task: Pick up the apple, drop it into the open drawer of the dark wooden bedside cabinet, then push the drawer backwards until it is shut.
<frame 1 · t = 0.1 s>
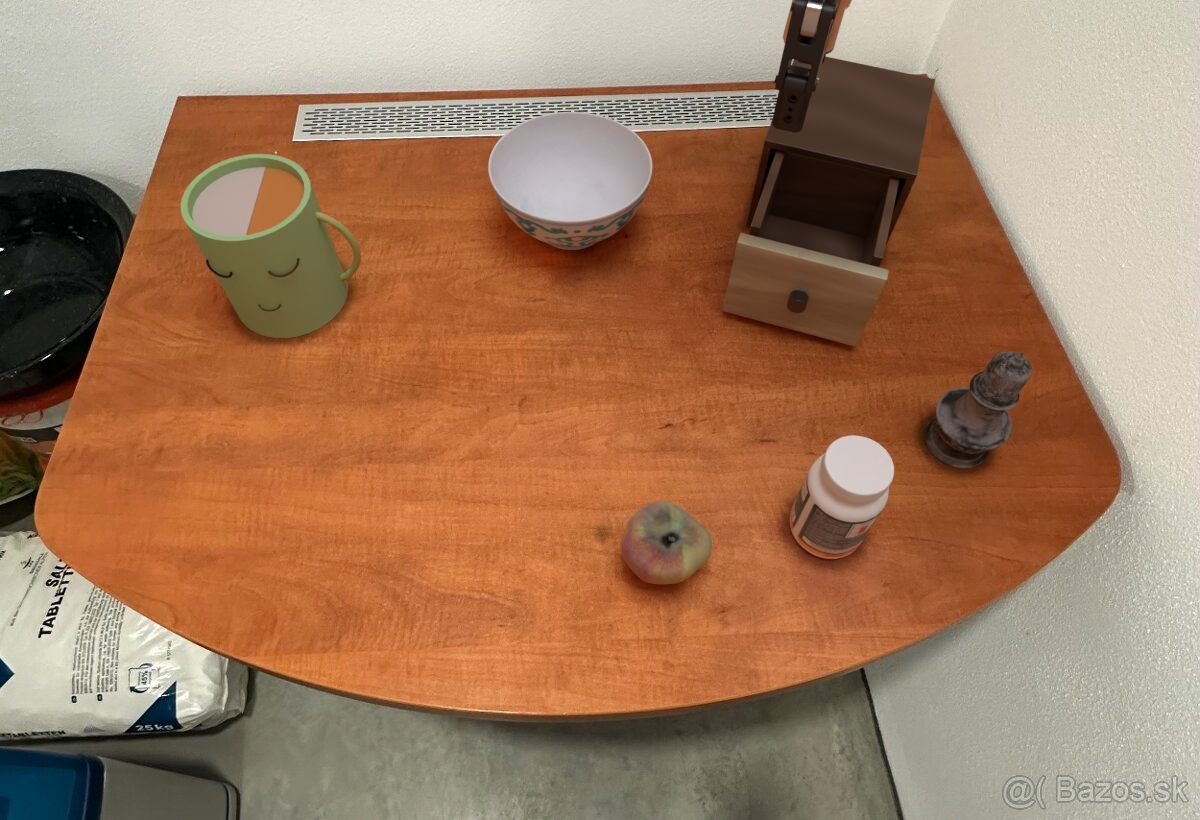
hand: (798, 93, 60), 20 cm above the table, tool pointing down, fingers open, 8 cm apart
drawer: (812, 247, 71), point 5 cm above the table, slide at 11.0 cm
chess piece: (955, 441, 67), on the table
mug: (306, 298, 74), on the table
cabinet: (825, 195, 82), on the table
chinaware: (572, 227, 80), on the table
pill bottle: (823, 528, 62), on the table
apple: (653, 559, 61), on the table
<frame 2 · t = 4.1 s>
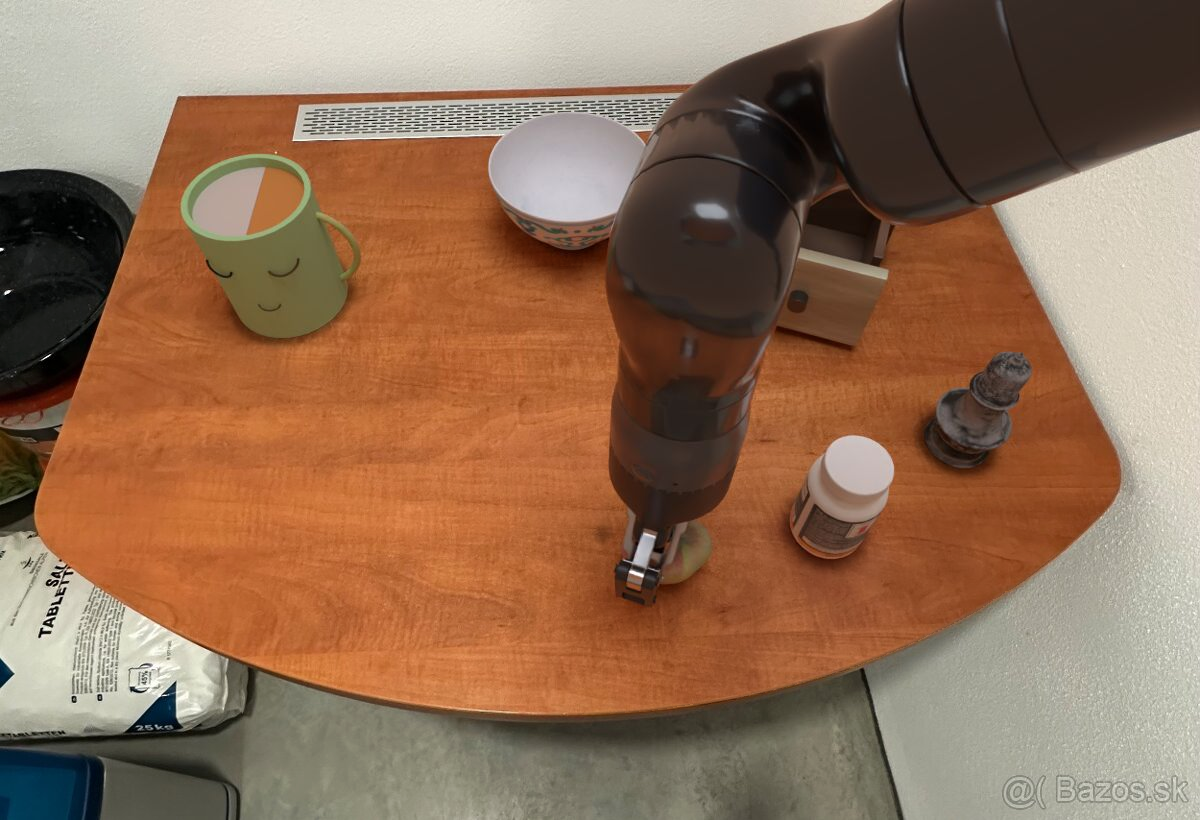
hand: (655, 548, 59), 2 cm above the table, tool pointing down, fingers closed on apple, 6 cm apart
apple: (653, 559, 61), on the table, touching gripper
everything else where it was.
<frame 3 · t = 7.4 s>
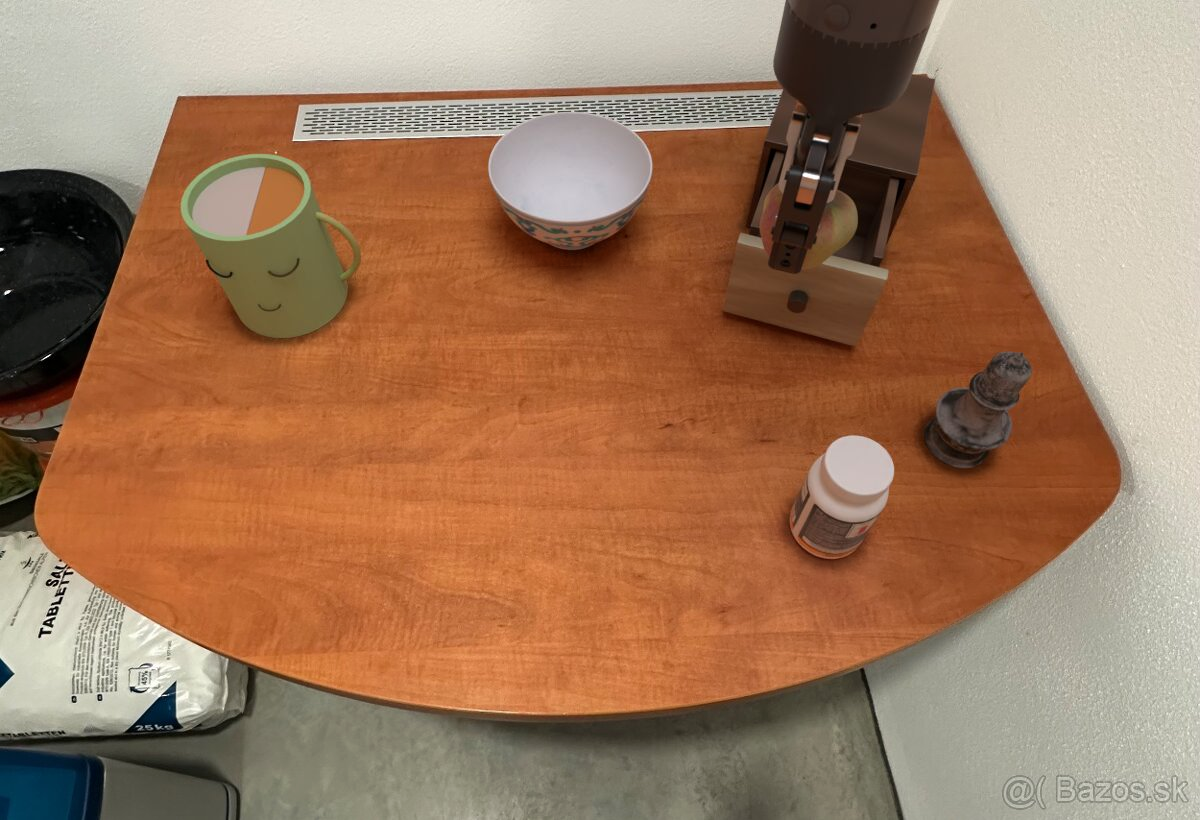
hand: (793, 233, 55), 17 cm above the table, tool pointing down, fingers closed on apple, 6 cm apart
apple: (787, 253, 56), point 16 cm above the table, touching gripper
everything else where it was.
when the fingers open (8 cm above the table, at t = 11.0 s): apple drops 5 cm, resting on drawer.
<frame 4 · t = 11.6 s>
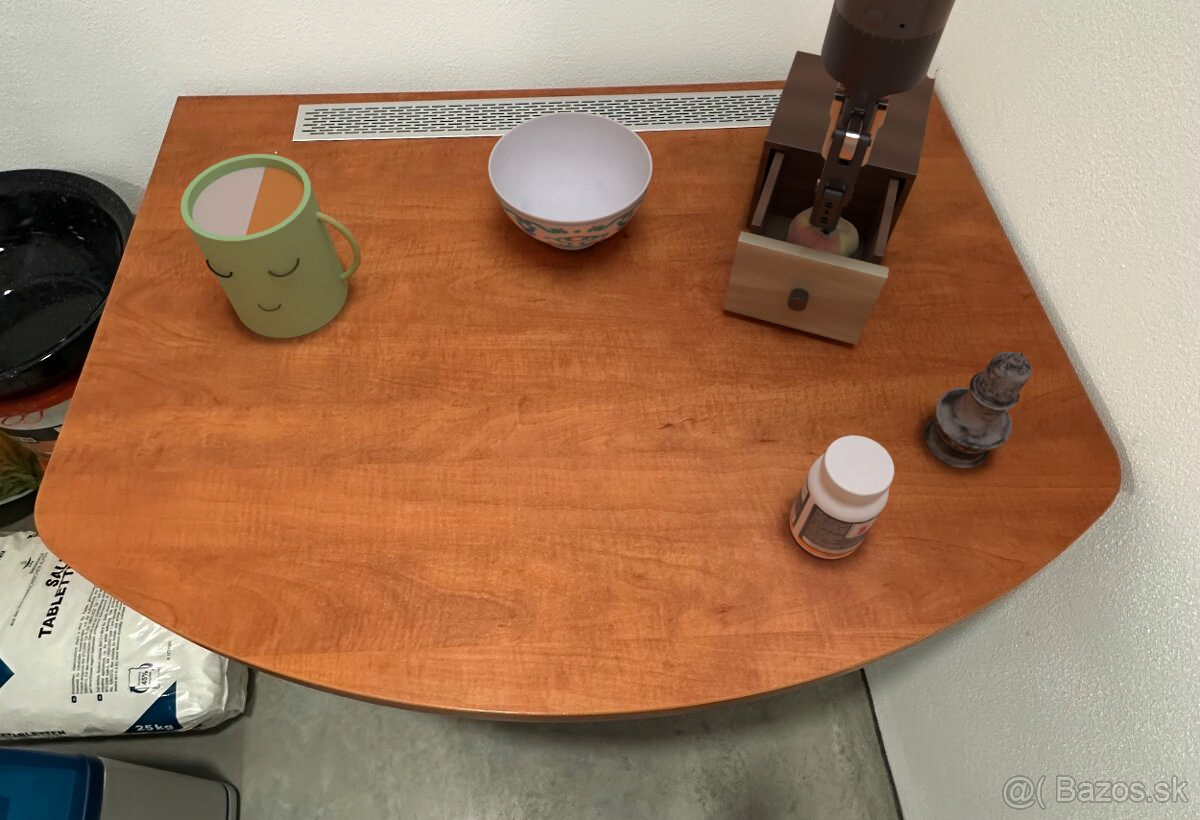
hand: (831, 191, 67), 11 cm above the table, tool pointing down, fingers open, 8 cm apart
drawer: (813, 245, 71), point 5 cm above the table, slide at 10.8 cm, touching apple
apple: (805, 265, 75), point 2 cm above the table, touching drawer
everything else where it was.
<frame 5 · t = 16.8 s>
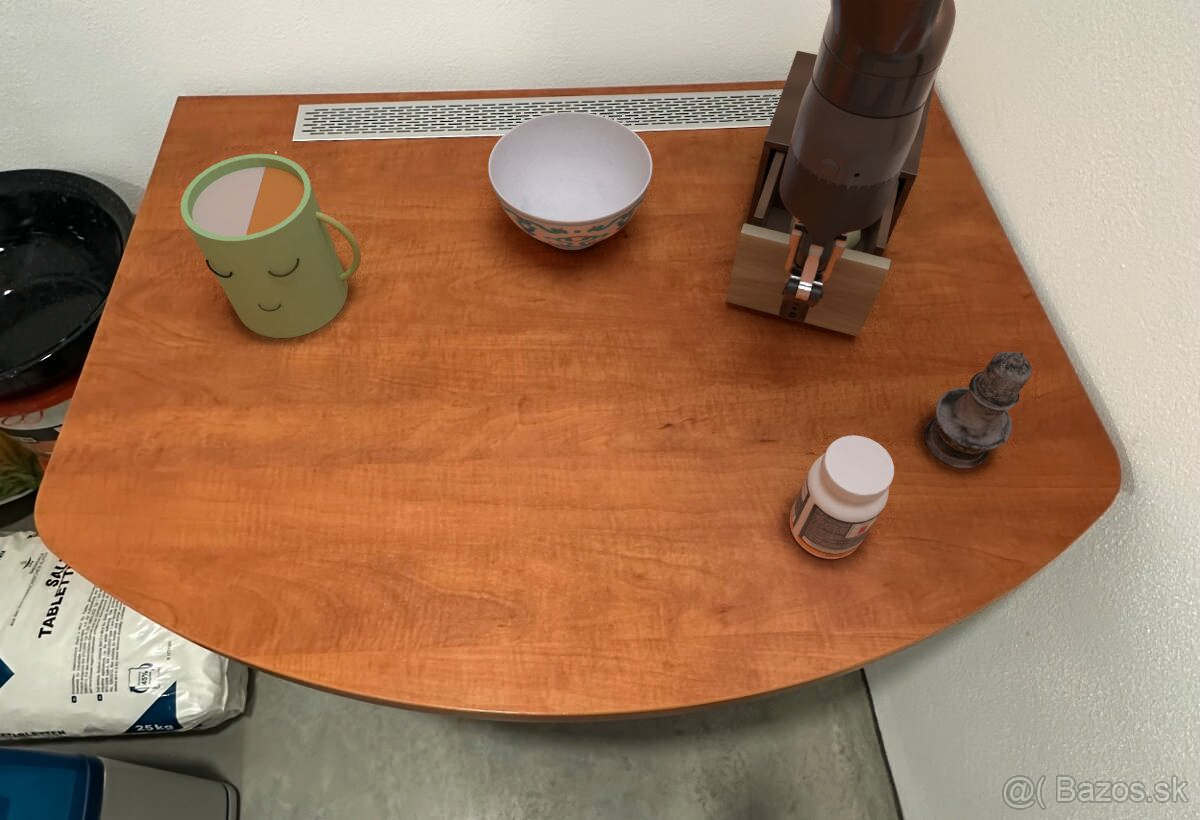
hand: (792, 313, 67), 5 cm above the table, tool pointing down, fingers closed
drawer: (815, 238, 72), point 5 cm above the table, slide at 9.8 cm, touching apple, gripper, hand
everything else where it was.
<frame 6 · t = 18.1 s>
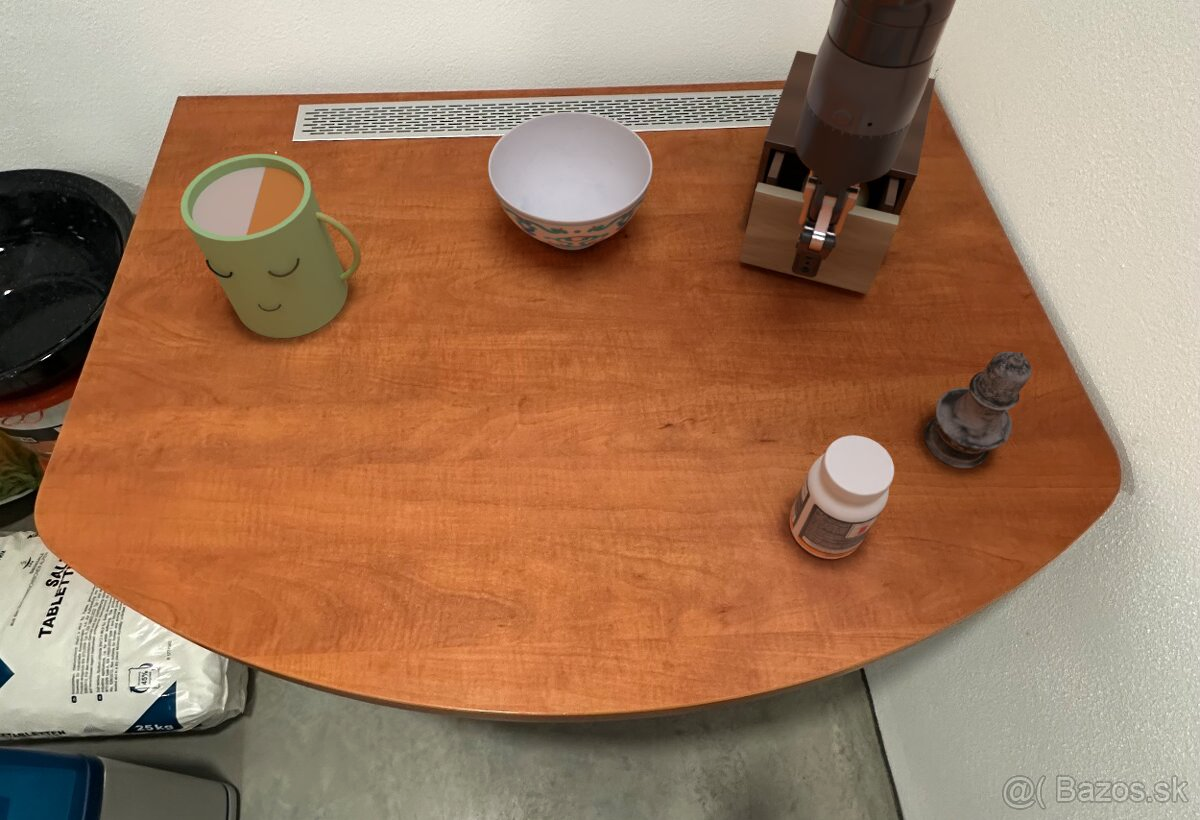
hand: (804, 269, 70), 5 cm above the table, tool pointing down, fingers closed
drawer: (825, 199, 74), point 5 cm above the table, slide at 4.5 cm, touching apple, gripper, hand
apple: (817, 220, 78), point 2 cm above the table, touching drawer
everything else where it was.
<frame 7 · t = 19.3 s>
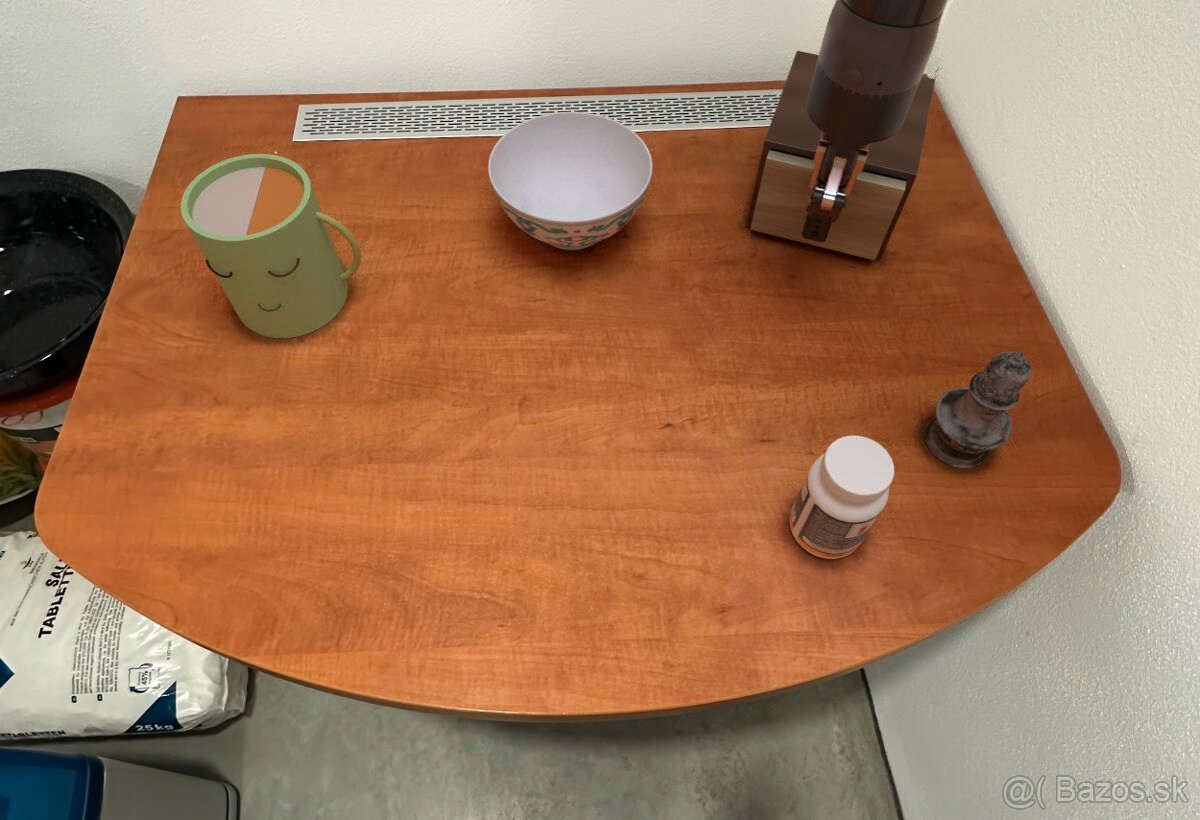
hand: (814, 234, 72), 5 cm above the table, tool pointing down, fingers closed
drawer: (834, 169, 77), point 5 cm above the table, slide at 0.0 cm, touching apple, cabinet, gripper, hand
apple: (826, 190, 80), point 2 cm above the table, touching drawer
everything else where it was.
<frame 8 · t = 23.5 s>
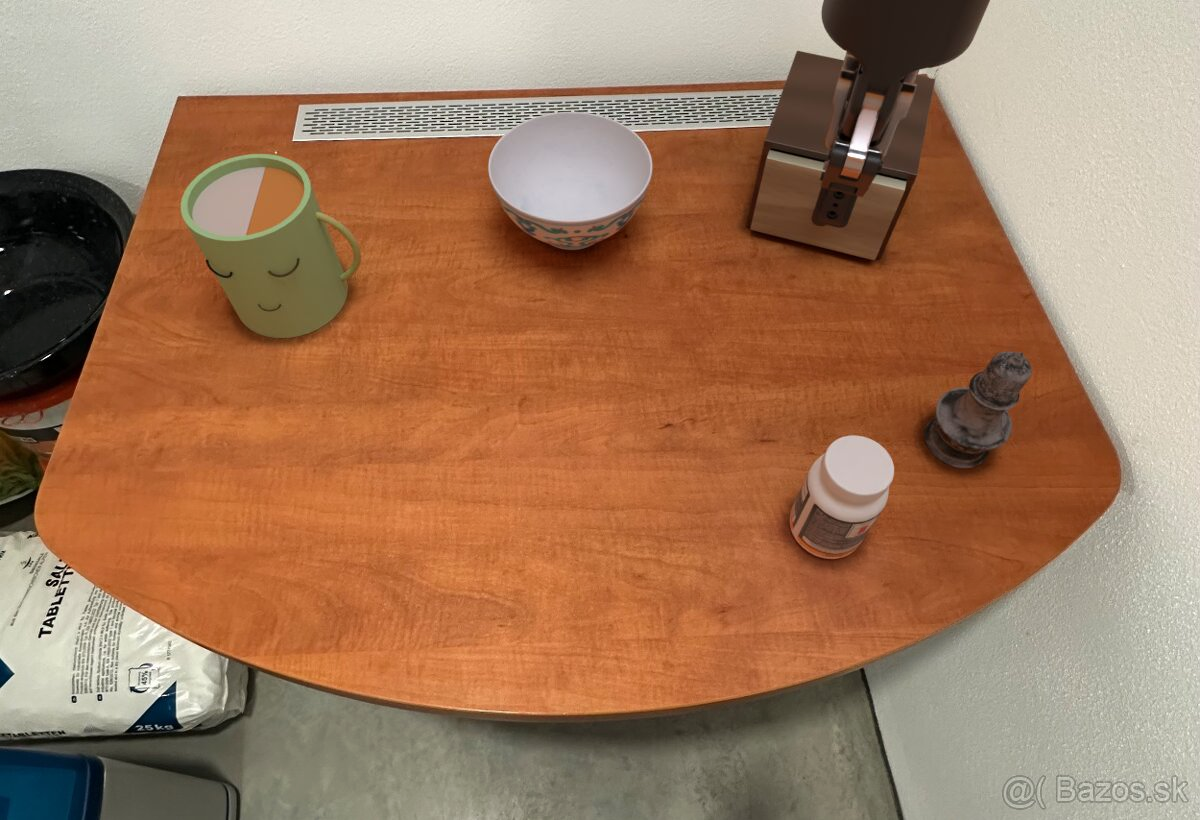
hand: (830, 217, 51), 21 cm above the table, tool pointing down, fingers closed
drawer: (834, 169, 77), point 5 cm above the table, slide at 0.0 cm, touching apple, cabinet
everything else where it was.
at the end: drawer slide at 0.0 cm; apple inside the target area in the cabinet (1.3 cm from its centre), point 1.7 cm above the cabinet's base; the gripper is holding nothing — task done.
